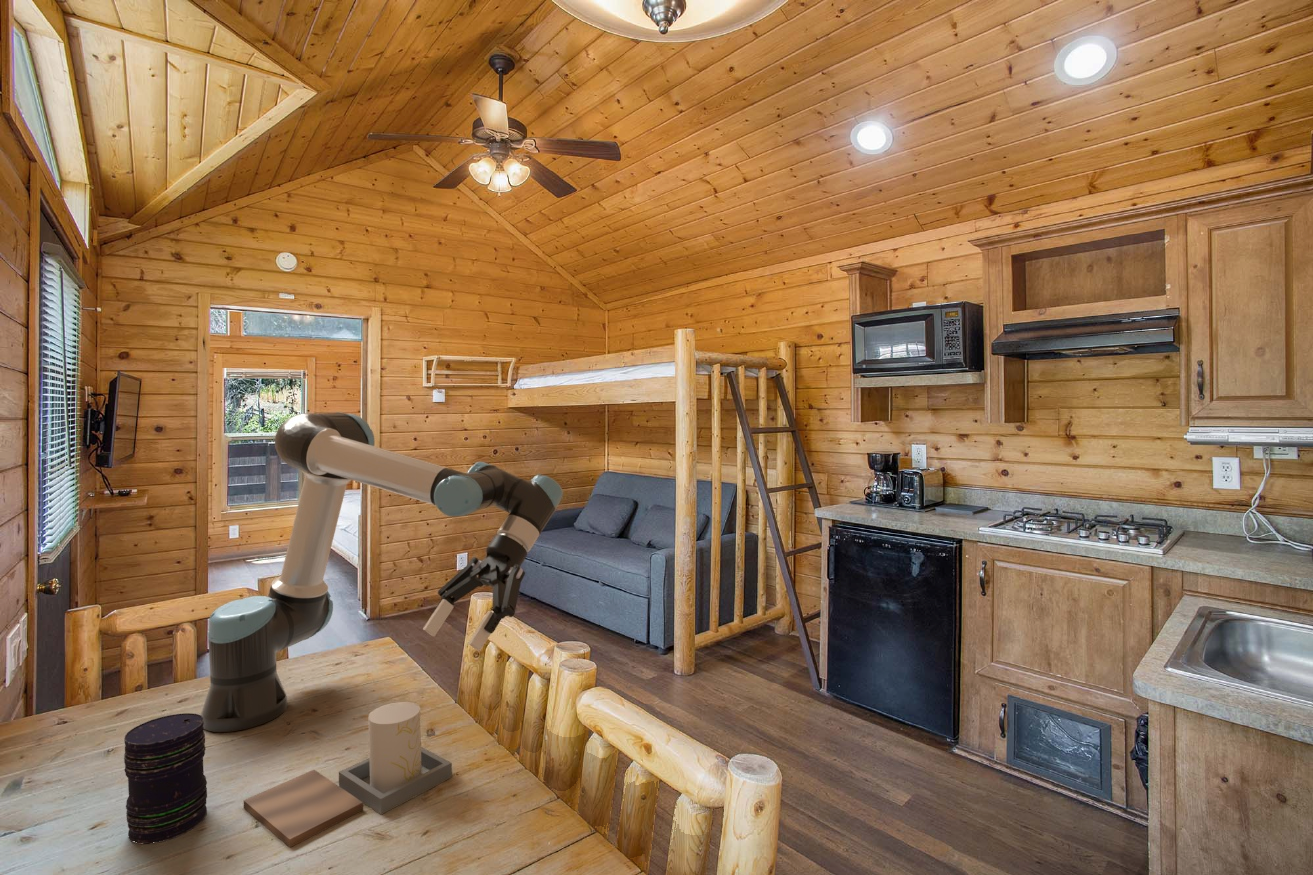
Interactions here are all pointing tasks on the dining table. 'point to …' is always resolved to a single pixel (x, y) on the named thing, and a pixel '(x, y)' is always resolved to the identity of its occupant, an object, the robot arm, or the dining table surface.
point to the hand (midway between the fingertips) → (450, 640)
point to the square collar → (393, 798)
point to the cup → (394, 745)
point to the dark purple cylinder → (165, 777)
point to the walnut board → (302, 807)
